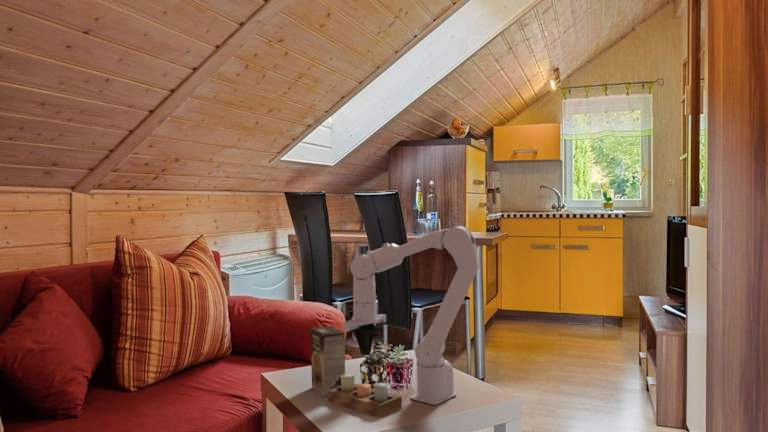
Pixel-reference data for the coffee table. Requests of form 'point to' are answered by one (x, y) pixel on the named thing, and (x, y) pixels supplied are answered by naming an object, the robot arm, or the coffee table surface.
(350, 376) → the pale green egg
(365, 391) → the orange egg
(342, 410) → the coffee table surface
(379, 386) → the white egg
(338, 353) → the coffee box
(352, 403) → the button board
